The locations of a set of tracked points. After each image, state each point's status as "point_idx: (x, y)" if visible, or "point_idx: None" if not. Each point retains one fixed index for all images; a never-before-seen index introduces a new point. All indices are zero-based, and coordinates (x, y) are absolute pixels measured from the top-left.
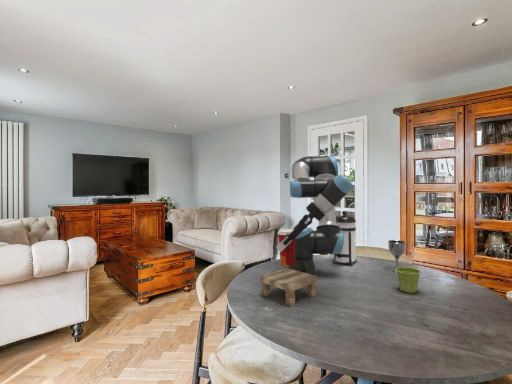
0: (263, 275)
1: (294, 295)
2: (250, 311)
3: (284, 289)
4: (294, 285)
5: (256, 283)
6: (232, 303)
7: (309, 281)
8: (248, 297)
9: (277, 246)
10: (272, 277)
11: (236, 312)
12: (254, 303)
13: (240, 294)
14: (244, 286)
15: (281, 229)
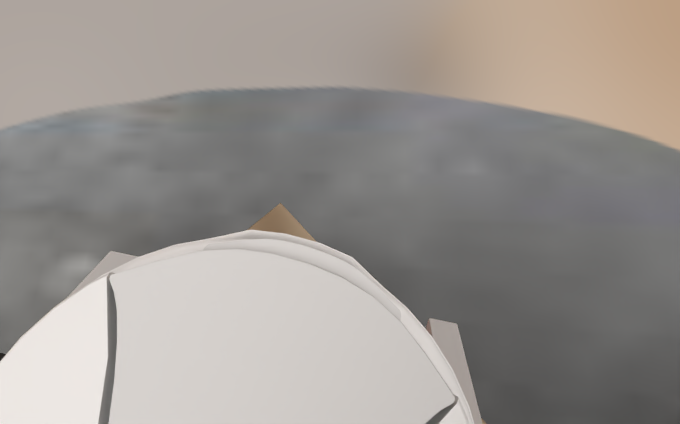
0: (294, 224)
1: None
2: (57, 182)
3: None
4: None
5: (490, 224)
6: (180, 96)
7: None
8: (256, 174)
9: (99, 273)
10: None
11: (59, 116)
12: (163, 204)
13: (305, 133)
14: (434, 154)
15: (385, 340)
